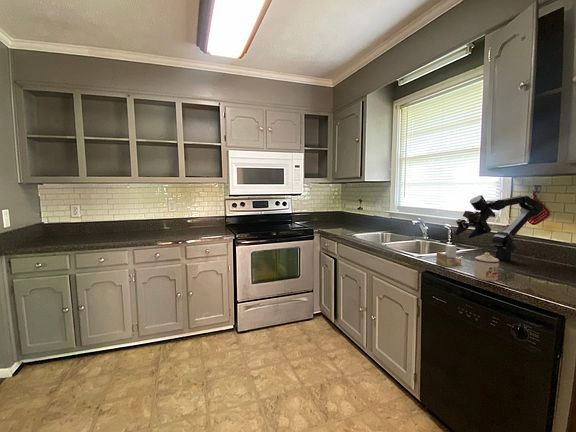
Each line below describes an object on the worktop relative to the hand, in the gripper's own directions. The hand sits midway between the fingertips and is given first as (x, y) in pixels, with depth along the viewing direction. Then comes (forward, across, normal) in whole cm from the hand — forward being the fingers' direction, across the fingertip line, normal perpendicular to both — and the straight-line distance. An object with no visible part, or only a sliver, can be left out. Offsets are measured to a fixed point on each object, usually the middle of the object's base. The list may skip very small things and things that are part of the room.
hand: (462, 236), depth 152 cm
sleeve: (+17, +2, +4) cm, 17 cm away
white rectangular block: (+16, +2, +5) cm, 17 cm away
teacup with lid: (+16, +26, +5) cm, 31 cm away
